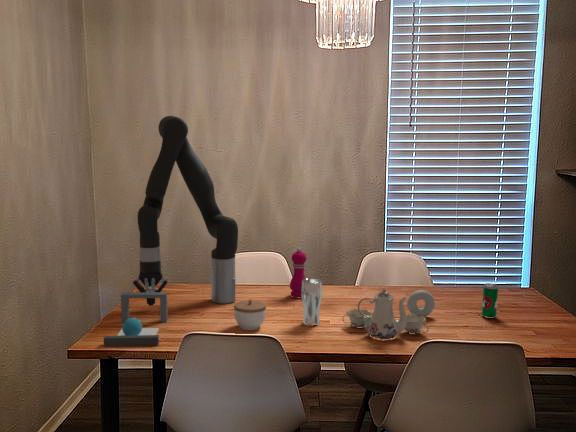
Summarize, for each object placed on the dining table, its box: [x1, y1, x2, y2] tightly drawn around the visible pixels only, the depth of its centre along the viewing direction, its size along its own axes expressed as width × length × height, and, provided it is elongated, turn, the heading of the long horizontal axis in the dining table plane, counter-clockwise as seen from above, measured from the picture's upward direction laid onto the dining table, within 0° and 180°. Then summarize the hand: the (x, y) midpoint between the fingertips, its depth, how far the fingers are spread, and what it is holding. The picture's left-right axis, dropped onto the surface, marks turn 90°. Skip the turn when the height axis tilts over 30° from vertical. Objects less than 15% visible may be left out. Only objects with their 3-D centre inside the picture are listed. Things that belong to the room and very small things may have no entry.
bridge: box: [120, 291, 169, 324], centre depth 187 cm, size 3×15×10 cm, turn 95°
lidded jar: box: [233, 299, 267, 331], centre depth 182 cm, size 11×11×9 cm
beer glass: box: [301, 278, 323, 325], centre depth 187 cm, size 7×7×15 cm
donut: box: [406, 289, 436, 318], centre depth 195 cm, size 10×4×10 cm, turn 94°
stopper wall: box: [103, 334, 160, 347], centre depth 165 cm, size 16×2×2 cm, turn 95°
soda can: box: [481, 282, 499, 317], centre depth 196 cm, size 5×5×12 cm
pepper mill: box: [289, 247, 308, 298], centre depth 220 cm, size 7×7×20 cm
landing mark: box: [116, 327, 160, 336], centre depth 174 cm, size 12×12×1 cm
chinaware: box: [342, 287, 429, 339], centre depth 178 cm, size 28×17×17 cm, turn 78°
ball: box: [121, 317, 143, 336], centre depth 172 cm, size 6×6×6 cm
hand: (151, 305), depth 201 cm, fingers closed
